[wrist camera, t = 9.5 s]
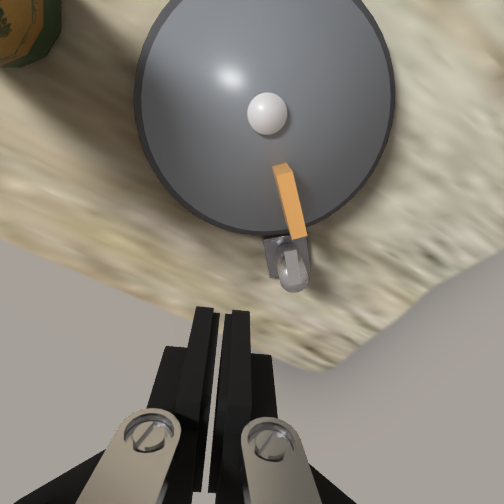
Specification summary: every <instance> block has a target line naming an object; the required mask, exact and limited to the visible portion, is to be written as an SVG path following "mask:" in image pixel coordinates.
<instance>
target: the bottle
mask: <svg viewBox="0 0 504 504" xmlns="http://www.w3.org/2000/svg"><path fill="white" fill-rule="evenodd" d="M60 32H61V0H0V67H23V66H25V65H27V64H30V63H32V62H34V61H37V60H39V59H42V58H44V57H46V56H47V54H48V52H49V51H50V49H51V47H52V45H53V44H54V42H55V40H56V39H57V37H58V35H59V34H60Z"/></svg>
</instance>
